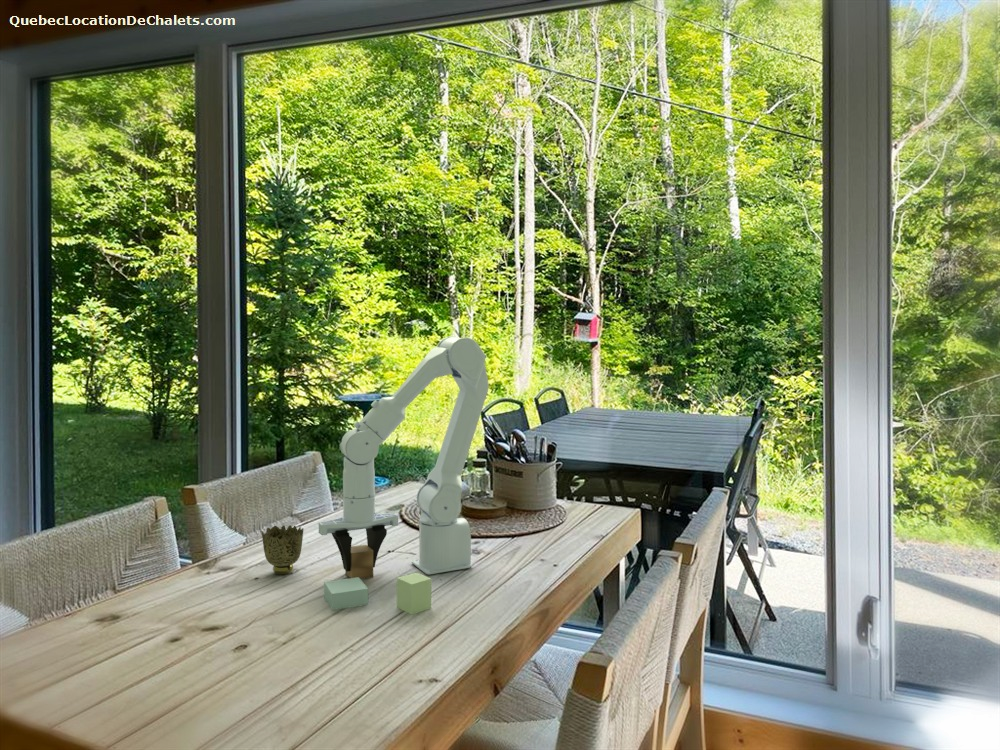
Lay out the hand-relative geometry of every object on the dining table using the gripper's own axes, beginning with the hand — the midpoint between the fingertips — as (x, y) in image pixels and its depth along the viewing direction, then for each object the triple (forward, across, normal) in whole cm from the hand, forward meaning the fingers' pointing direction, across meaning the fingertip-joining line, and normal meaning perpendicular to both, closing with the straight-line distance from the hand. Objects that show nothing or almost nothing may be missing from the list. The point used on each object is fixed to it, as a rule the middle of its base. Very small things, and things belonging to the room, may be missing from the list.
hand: (359, 567), depth 140 cm
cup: (+2, +12, -8) cm, 15 cm away
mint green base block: (+2, +6, +11) cm, 13 cm away
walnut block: (+1, 0, 0) cm, 1 cm away
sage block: (+2, -3, +19) cm, 19 cm away
